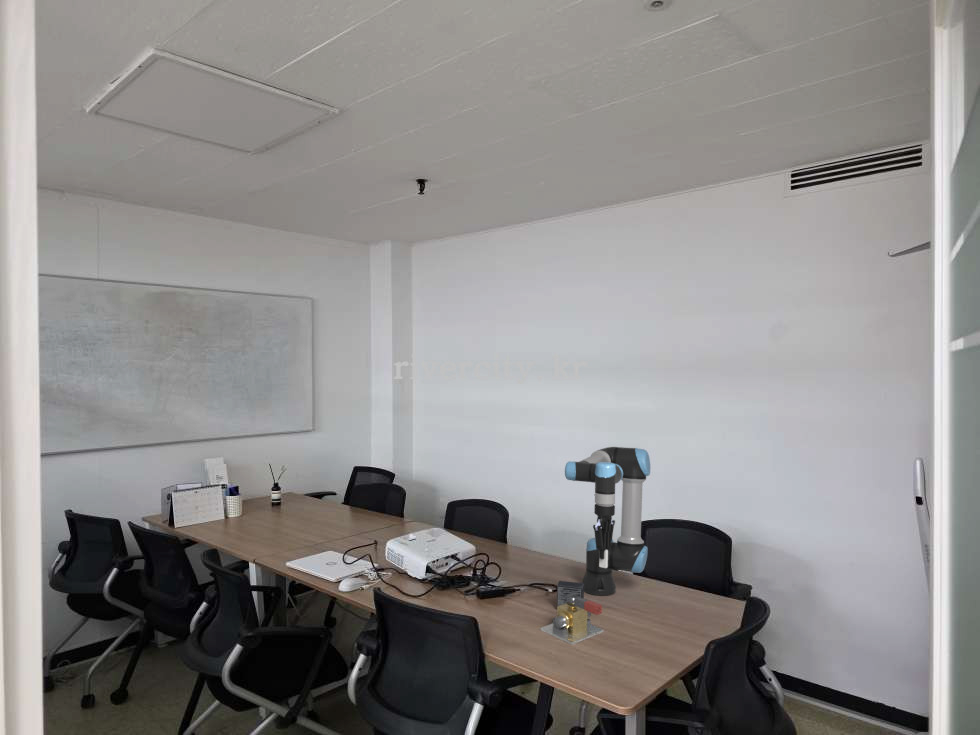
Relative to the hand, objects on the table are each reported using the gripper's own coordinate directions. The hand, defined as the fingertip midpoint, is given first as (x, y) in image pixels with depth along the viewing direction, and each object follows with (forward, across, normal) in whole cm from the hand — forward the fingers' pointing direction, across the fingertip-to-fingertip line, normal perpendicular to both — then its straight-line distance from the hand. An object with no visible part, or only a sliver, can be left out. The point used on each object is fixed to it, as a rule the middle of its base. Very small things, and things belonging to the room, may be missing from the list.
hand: (603, 566), depth 235 cm
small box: (+26, -14, -22) cm, 37 cm away
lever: (+15, +6, -5) cm, 17 cm away
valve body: (+25, +4, -10) cm, 28 cm away
